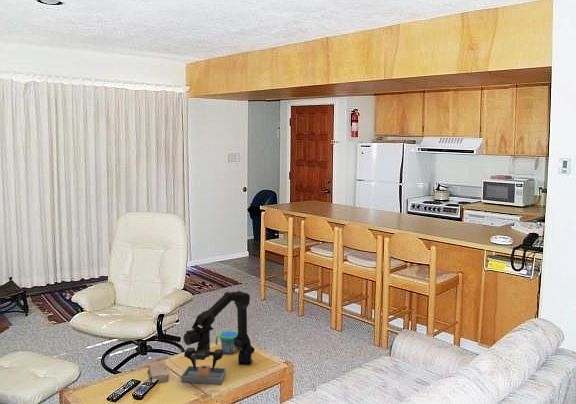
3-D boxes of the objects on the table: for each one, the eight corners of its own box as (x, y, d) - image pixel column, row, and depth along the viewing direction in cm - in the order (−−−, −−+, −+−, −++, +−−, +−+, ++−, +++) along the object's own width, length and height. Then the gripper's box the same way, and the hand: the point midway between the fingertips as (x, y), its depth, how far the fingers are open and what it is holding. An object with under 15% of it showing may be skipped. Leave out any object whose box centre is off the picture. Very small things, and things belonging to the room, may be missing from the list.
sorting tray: (226, 374, 268) (226, 368, 268) (220, 384, 256) (220, 379, 256) (188, 371, 270) (188, 365, 270) (181, 382, 259) (181, 376, 258)
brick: (169, 382, 259) (169, 373, 258) (151, 384, 256) (151, 375, 255) (164, 368, 274) (164, 360, 274) (148, 370, 271) (148, 362, 271)
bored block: (210, 374, 265) (210, 365, 265) (207, 379, 261) (207, 369, 260) (200, 374, 266) (200, 364, 265) (198, 378, 261) (198, 369, 260)
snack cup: (245, 349, 299) (245, 332, 298) (238, 357, 289) (238, 339, 288) (220, 346, 304) (220, 329, 302) (212, 353, 293) (212, 335, 292)
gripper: (180, 344, 254) (181, 375, 256) (218, 347, 252) (218, 378, 254) (187, 336, 265) (187, 365, 267) (223, 338, 263) (223, 368, 265)
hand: (204, 369), depth 263 cm, fingers open, 9 cm apart
